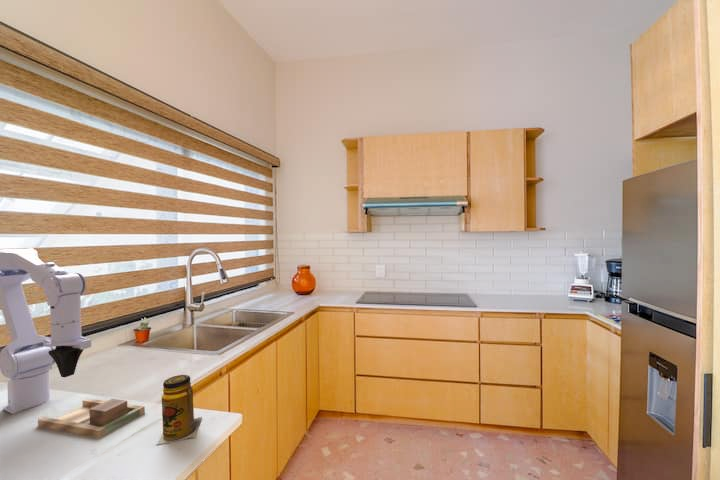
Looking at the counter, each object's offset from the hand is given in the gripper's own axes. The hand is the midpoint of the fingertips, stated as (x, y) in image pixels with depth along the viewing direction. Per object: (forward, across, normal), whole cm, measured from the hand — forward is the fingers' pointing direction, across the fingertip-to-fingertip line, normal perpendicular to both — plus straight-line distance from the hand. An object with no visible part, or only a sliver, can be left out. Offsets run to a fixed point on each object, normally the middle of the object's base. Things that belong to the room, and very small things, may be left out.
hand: (67, 375), depth 81 cm
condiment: (+10, +35, +1) cm, 36 cm away
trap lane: (+10, +11, -2) cm, 15 cm away
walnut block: (+9, +16, -2) cm, 19 cm away
